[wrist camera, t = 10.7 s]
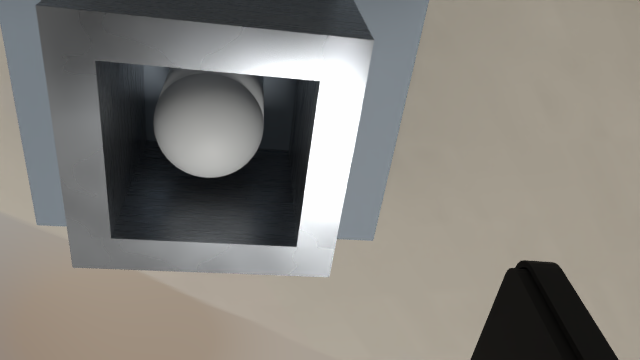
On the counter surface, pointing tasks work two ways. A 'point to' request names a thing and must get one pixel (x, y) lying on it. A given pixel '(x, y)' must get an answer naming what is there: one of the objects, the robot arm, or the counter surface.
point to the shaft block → (227, 112)
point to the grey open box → (169, 181)
